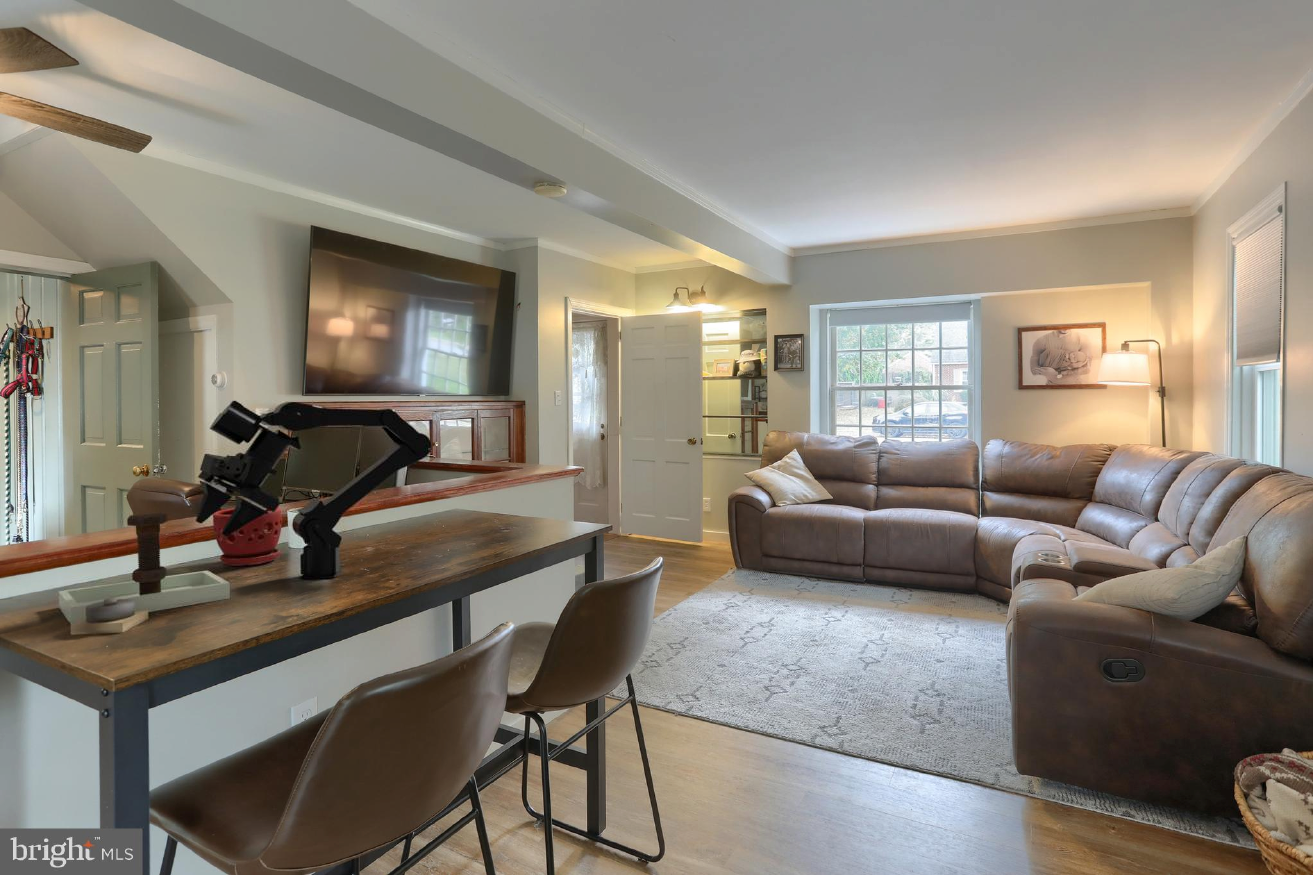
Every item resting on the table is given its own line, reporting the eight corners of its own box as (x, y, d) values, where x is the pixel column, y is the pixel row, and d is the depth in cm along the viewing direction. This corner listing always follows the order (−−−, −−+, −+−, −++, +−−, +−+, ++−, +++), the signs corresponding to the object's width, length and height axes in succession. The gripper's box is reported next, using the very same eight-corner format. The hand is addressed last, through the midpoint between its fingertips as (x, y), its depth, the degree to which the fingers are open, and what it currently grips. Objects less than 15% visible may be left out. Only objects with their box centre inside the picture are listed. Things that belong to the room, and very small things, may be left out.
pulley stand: (148, 618, 112) (147, 592, 112) (122, 632, 105) (122, 604, 105) (99, 620, 111) (99, 594, 111) (70, 634, 104) (70, 606, 104)
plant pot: (238, 555, 162) (237, 504, 161) (293, 556, 161) (293, 505, 161) (199, 568, 149) (198, 512, 148) (259, 569, 148) (258, 513, 148)
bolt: (133, 605, 118) (130, 518, 117) (126, 600, 121) (123, 515, 120) (174, 598, 122) (171, 514, 121) (166, 593, 125) (163, 511, 125)
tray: (207, 584, 134) (207, 570, 134) (229, 598, 125) (229, 582, 125) (59, 607, 118) (58, 591, 118) (71, 625, 109) (70, 607, 109)
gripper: (200, 427, 133) (146, 498, 128) (254, 446, 124) (198, 523, 118) (248, 455, 142) (199, 522, 136) (301, 475, 133) (251, 548, 127)
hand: (210, 528), depth 129 cm, fingers open, 9 cm apart
